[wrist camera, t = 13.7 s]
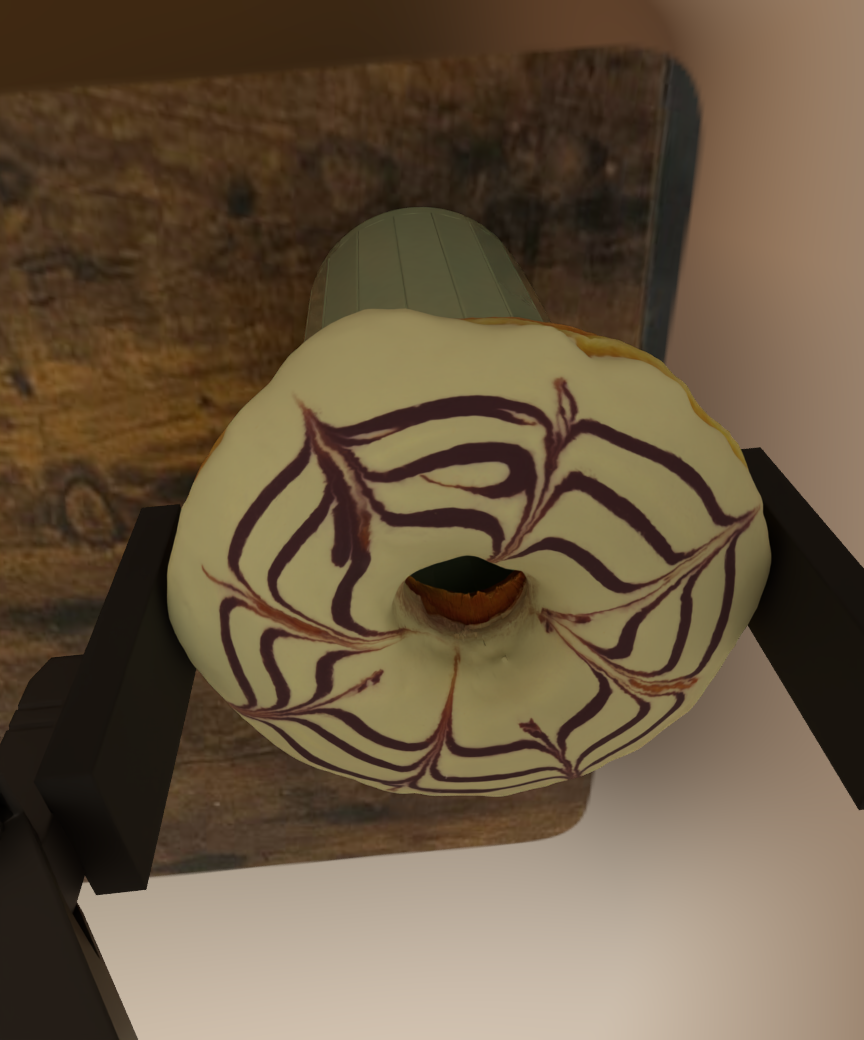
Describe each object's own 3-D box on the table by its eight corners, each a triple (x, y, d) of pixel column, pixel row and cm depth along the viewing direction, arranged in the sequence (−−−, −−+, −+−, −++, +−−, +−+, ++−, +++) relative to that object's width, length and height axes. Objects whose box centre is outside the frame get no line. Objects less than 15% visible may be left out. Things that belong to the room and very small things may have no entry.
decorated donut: (249, 190, 13) (216, 259, 10) (806, 366, 15) (920, 464, 12) (160, 653, 18) (120, 793, 15) (585, 727, 21) (625, 859, 18)
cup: (529, 196, 25) (644, 345, 15) (528, 410, 29) (617, 637, 19) (291, 217, 25) (247, 382, 15) (324, 430, 29) (309, 669, 19)
